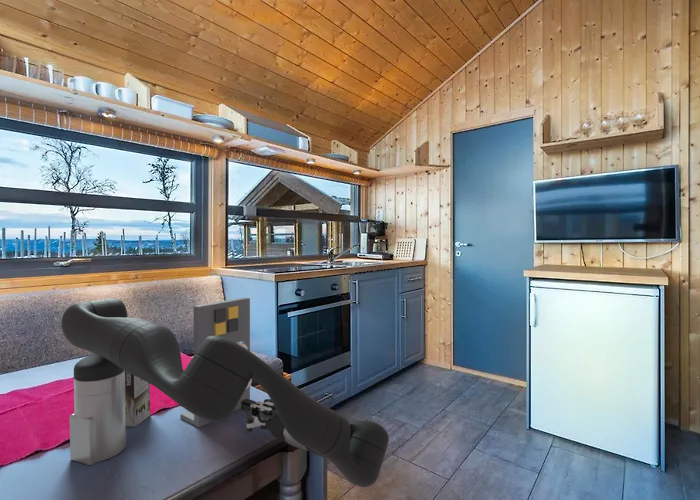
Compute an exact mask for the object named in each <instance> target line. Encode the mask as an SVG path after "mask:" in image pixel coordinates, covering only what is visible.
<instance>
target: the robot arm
mask: <svg viewBox="0 0 700 500" xmlns="http://www.w3.org/2000/svg"><path fill="white" fill-rule="evenodd" d="M60 323H61V329H62V333H63V335H64V337H65V339H66V340H67V341H68V342H69V343H70V344H71V345H72V346H73V347H76V348H78V349H80V350H85V351H87V352H91V353H90V354H89V355H87V356H85V357H83V358H82V359H80V360H79V361H78V362H76V363H75V365H74V367H73V403H74V404H73V406H74V408H73V409H74V411H73V412H74V413H72V414H70V415H69V444H70V445H69V449H70V450H69V451H70V452H69V453H70V454H69V455H70V460H71V461H74V462H77V463H81V464H85V465H88V466H93V465H94V464H96V463H98V462H103V461H106V460H108V459H111V458H113V457H115V456H117V455H118V454H120V453H121V452H122V451H123V450H124V449H125V448H126V446H127V436H126V435H127V434H126V433H127V430H126V429H127V428H126V427H127V426H126V413H125V371H127V372H128V373H130V374H132V375H134V376H136V377H138V378H140V379H142V380H144V381H146V382H148V383H150V385H152V386H153V387H155V388H156V389H158V390H159V391H160V392H162V393H163V394H165V396H167V397H168V398H170V399H171V400H172V401H173V402H175V403H176V404H177V405H179V406H180V407H182V408H183V409H185V410H186V411H189V412H191V413H192V414H194V415H196V416H198V417H200V418H202V419H205V420H207V421H212V422H213V423H219V422H220V423H221V422H224V421H225V420H226V419H228V418H229V417H230V415H231V414H232V413H234V412H233V410H234V409H235V407H236V405H237V403H238V402H239V400H240V398H241V396H242V394H243V393H244V391H245V389H246V387H247V385H248V384H249V383H248V382H250V380H251V378H252V380H254V381H255V382H256V383H257V384H258V385H260V387H262V388H263V390H264V391H265V392H266V394H267V395H268V397H269V398H266V399H264V400H263V401H262V400H261V401H260V400H258V401H255V400H253V399H250V400H249V399H245V400H242V401H241V408H240V410H241V411H243V412H245V415H246V416H245V426H246V432H248V433H249V432H252V431H253V429H254V428H258V427H259V428H260V429H261V430H266V431H267V430H268V431H269V432H270V434H271V436H272V437H274V438H275V439H277V440H279V441H282V442H283V443H286V444H288V445H290V446H292V447H294V448H297V449H299V450H303V451H307V452H310V453H312V454H315V455H316V456H319V457H321V458H323V459H327V460H328V461H330V462H331V463H332V464H333V465H334V466H335V467H336V468H337V469H338V471H339V472H340V473H341V474H342V475H343V477H345V478H346V479H347V480H348V481H349V482H351V484H353V485H356V486H358V487H361V488H369V487H370V486H373V484H375V483H376V482H377V480H378V479H379V478H378V477H379V476H380V471H381V468H382V465H383V463H384V458H385V456H386V452H387V449H388V446H389V441H390V438H389V437H390V436H389V434H388V431H387V430H386V428H384V427H383V425H381V424H379V423H377V422H375V421H372V420H348V419H347V417H345V416H343V415H341V414H340V413H338V412H337V411H335V410H333V409H331V408H329V407H328V406H327V405H324V404H322V403H321V402H318V401H317V400H316V399H315V398H313V397H311V396H309V395H308V394H307V393H305V392H304V391H303V390H301V389H300V388H299V387H298V386H297V385H295V384H294V383H293V382H291V380H289V379H288V378H286V377H285V376H284V375H283V374H281V373H280V372H279V371H277V370H276V369H275V368H273V367H272V366H271V365H269V364H268V363H267V362H265V361H264V360H263V359H261V358H260V357H259V356H257V354H254V353H253V352H252V351H251V350H250V351H249V350H247V349H246V348H244V347H242V346H241V345H239V344H237V343H235V342H233V341H231V340H229V339H226V338H223V337H220V336H209V337H207V338H206V339H205V340H204V341H203V343H202V344H201V346H200V347H199V349H198V350H197V352H196V353H195V354H196V355H194V354H193V357H192V358H191V359H190V361H189V362H188V365H186V367H185V369H184V367H183V361H182V354H181V350H180V345H179V341H178V340H177V338H176V335H175V334H174V333H173V331H172V330H171V329H170V328H168V327H166V326H165V325H162V324H159V323H156V322H155V321H152V320H149V319H145V318H140V317H139V318H138V317H128V310H127V308H126V304H125V303H124V302H123V300H122V299H119V298H113V297H112V298H104V299H103V298H102V299H94V300H88V301H81V302H77V303H74V304H72V305H70V306H68V307H67V308H66V309H65V311H64V312H63V314H62V317H61V322H60ZM212 422H211V423H212Z"/></svg>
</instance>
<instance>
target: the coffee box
mask: <svg viewBox="0 0 700 500" xmlns="http://www.w3.org/2000/svg"><path fill="white" fill-rule="evenodd" d="M150 389H151V384H150V383H148V382H146V381H144V380H142V379H140V378H138V377H136V376H134V375H132V374H130V373H128V372H127V371H125V413H126V427H133V428H134V427H137V426H138V425H140V424H141V423H142V422H143V421H145V420H146V419H147V418H149V417H150V416H151V391H150Z"/></svg>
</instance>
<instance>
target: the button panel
mask: <svg viewBox="0 0 700 500" xmlns="http://www.w3.org/2000/svg"><path fill="white" fill-rule="evenodd" d="M192 307H193V311H192V313H193V356H194V355H196V354H195V353H196V352H197V350H198V349H199V347H200V346H201V344H202V343H203V341H204V340H205V339H206V338H207V337H209V336H220V337H223V338H226V339H229V340H231V341H233V342H235V343H242V344H245V345H246V346H247V348H248V350H249V351H250V352H251V339H250V338H251V322H250V321H251V298H250V297H239V298H233V299H227V300H222V301H216V302H209V303H204V304H197V305H193V306H192ZM245 399H249V400H251V385H250V386H249V387H248V388H247V389H245V391H244V393H243V394H242V396H241V398H240V400H239V402H238V403H237V405H236V407H235V409H234V410H233V412H232V413H234V412H236V411H237V410H241V401H242V400H245ZM179 417H180V419H181V420H183V421H184V422H186V423H189V424H191V425H192V426H195V427H197V428H199V429H200V428H201V427H204V426H205V425H208V424H210V423H212V421H207V420H205V419H202V418H200V417H198V416H196V415H194V414H192V413H191V412H189V411H188V410H186V411H184V412H182V413H180V415H179Z"/></svg>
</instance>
